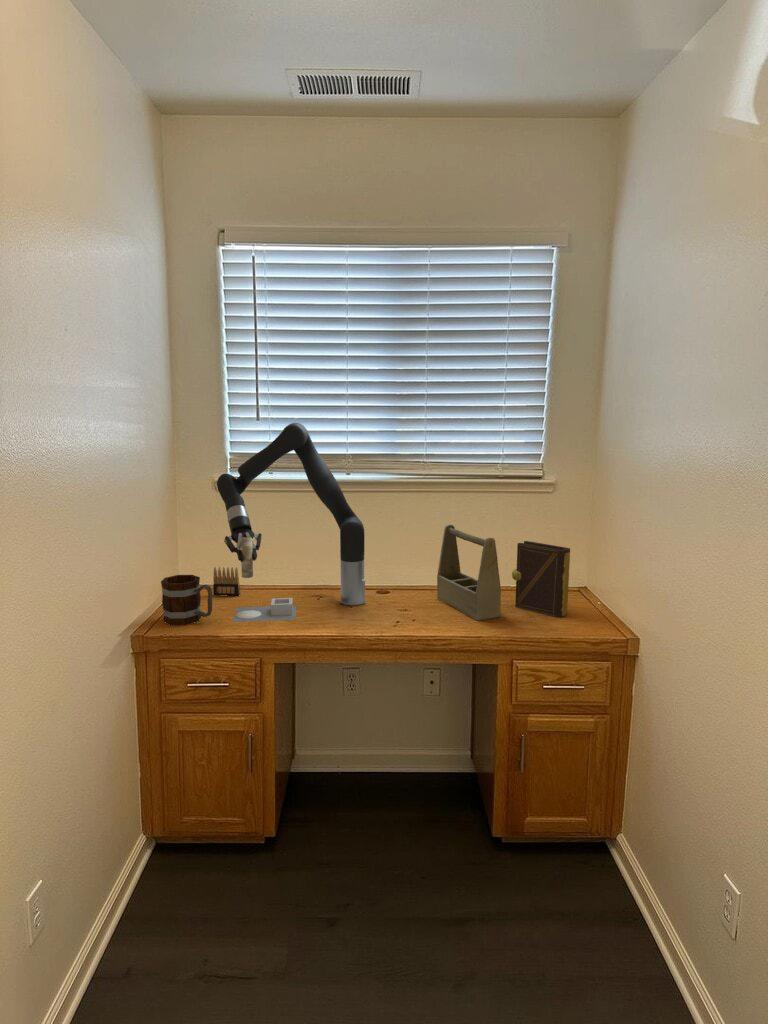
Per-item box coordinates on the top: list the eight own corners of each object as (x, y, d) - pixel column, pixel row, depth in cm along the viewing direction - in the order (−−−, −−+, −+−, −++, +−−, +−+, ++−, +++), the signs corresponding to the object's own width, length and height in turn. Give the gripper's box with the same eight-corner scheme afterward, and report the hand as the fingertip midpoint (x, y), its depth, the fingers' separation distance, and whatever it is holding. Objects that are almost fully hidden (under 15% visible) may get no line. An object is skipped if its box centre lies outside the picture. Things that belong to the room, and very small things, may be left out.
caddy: (436, 599, 263) (437, 525, 258) (459, 595, 267) (460, 523, 262) (476, 621, 237) (478, 539, 232) (501, 617, 241) (503, 537, 236)
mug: (154, 623, 235) (152, 582, 232) (178, 611, 247) (176, 573, 245) (201, 629, 228) (199, 587, 226) (223, 617, 241) (221, 577, 238)
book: (570, 613, 245) (573, 548, 241) (559, 619, 239) (562, 552, 235) (518, 601, 260) (521, 539, 256) (507, 606, 254) (509, 542, 250)
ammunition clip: (240, 595, 268) (239, 566, 266) (239, 596, 266) (238, 567, 264) (214, 594, 269) (213, 566, 267) (213, 596, 267) (211, 567, 265)
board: (296, 609, 250) (295, 595, 249) (295, 623, 235) (295, 608, 234) (237, 611, 248) (236, 597, 247) (232, 625, 232) (232, 610, 231)
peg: (253, 574, 239) (252, 537, 237) (252, 577, 235) (251, 539, 233) (242, 575, 239) (241, 537, 236) (241, 578, 235) (240, 539, 232)
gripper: (220, 516, 236) (230, 556, 228) (259, 513, 243) (270, 552, 234) (218, 527, 242) (227, 567, 234) (255, 525, 248) (266, 563, 240)
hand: (248, 559), depth 234 cm, fingers closed on peg, 4 cm apart
